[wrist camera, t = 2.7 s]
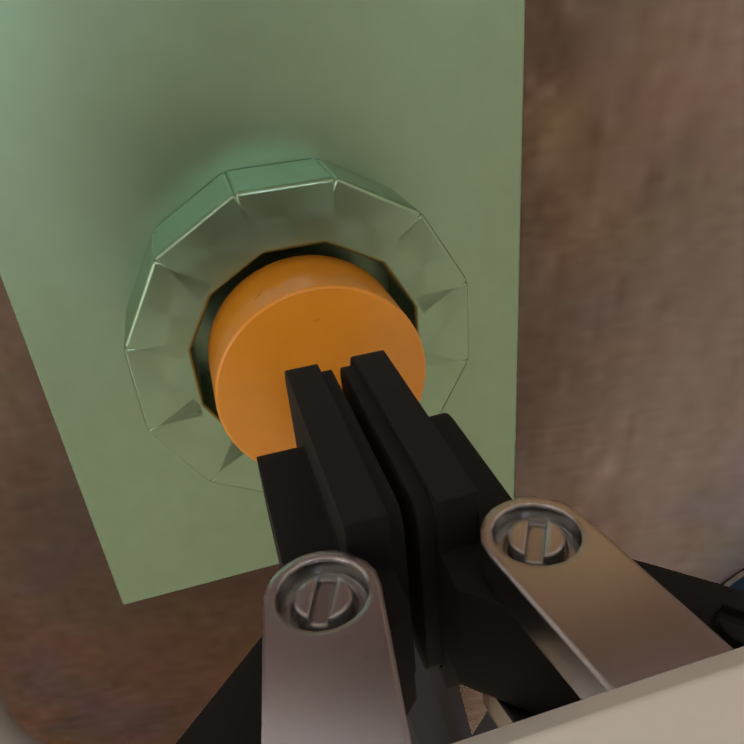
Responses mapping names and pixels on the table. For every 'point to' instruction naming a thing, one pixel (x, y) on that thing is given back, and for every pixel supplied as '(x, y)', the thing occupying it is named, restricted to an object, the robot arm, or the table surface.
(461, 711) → the wizard figurine
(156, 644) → the table surface
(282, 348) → the button
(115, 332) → the green rectangular block
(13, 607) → the table surface
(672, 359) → the table surface
